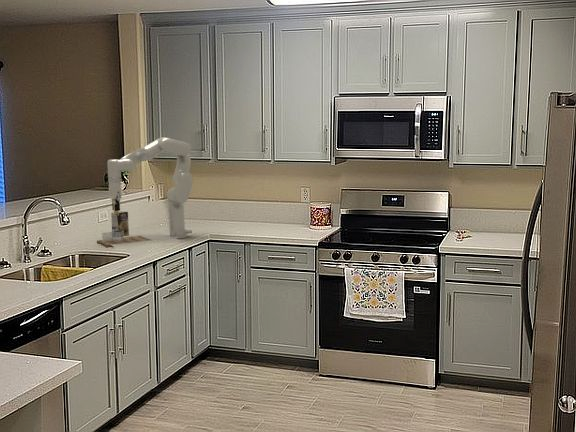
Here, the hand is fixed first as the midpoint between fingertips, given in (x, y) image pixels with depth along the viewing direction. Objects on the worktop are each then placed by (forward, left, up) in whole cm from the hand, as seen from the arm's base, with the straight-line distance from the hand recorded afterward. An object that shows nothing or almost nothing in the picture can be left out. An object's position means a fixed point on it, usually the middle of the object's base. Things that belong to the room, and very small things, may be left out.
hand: (116, 210), depth 440 cm
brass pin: (0, 0, -3) cm, 3 cm away
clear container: (+3, -3, -19) cm, 19 cm away
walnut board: (-4, 0, -21) cm, 21 cm away
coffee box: (-9, -21, -21) cm, 31 cm away
